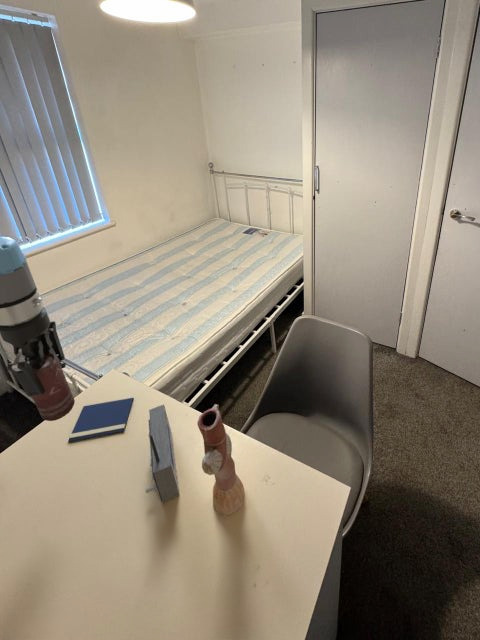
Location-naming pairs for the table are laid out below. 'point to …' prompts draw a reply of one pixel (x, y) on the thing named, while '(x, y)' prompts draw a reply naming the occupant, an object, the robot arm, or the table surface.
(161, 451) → the electronic device
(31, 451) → the table surface
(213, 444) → the vase
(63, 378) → the can
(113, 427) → the book
